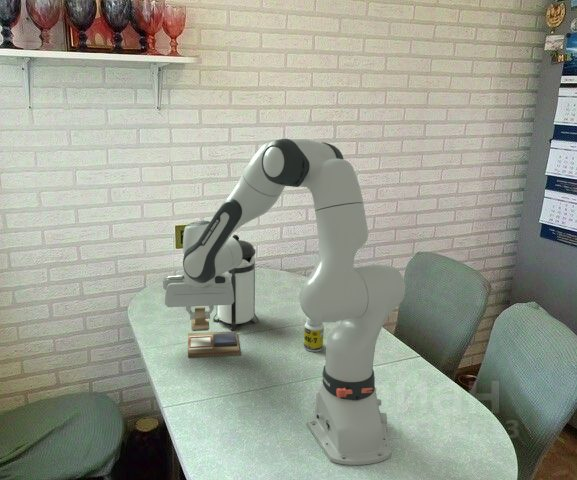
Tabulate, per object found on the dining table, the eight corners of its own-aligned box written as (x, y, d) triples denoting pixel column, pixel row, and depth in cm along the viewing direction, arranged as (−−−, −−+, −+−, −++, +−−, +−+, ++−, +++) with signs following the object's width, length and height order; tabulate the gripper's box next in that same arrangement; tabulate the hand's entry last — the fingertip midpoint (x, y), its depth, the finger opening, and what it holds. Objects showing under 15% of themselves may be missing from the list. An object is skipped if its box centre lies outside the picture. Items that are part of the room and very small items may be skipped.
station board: (239, 354, 167) (239, 347, 166) (188, 357, 164) (187, 350, 164) (236, 334, 179) (236, 327, 178) (188, 336, 176) (188, 330, 176)
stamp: (209, 330, 167) (209, 312, 166) (191, 331, 167) (191, 313, 165) (208, 323, 172) (208, 305, 171) (191, 323, 171) (191, 305, 170)
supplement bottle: (300, 349, 171) (301, 318, 168) (308, 341, 175) (309, 311, 172) (318, 354, 168) (319, 322, 165) (325, 346, 173) (327, 315, 170)
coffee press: (261, 312, 196) (262, 228, 187) (254, 332, 180) (255, 243, 172) (212, 309, 197) (211, 226, 188) (201, 329, 182) (199, 240, 173)
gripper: (162, 280, 160) (164, 324, 164) (234, 277, 163) (234, 321, 167) (163, 272, 166) (165, 315, 170) (233, 270, 169) (233, 312, 173)
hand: (200, 318), depth 168 cm, fingers closed on stamp, 3 cm apart
